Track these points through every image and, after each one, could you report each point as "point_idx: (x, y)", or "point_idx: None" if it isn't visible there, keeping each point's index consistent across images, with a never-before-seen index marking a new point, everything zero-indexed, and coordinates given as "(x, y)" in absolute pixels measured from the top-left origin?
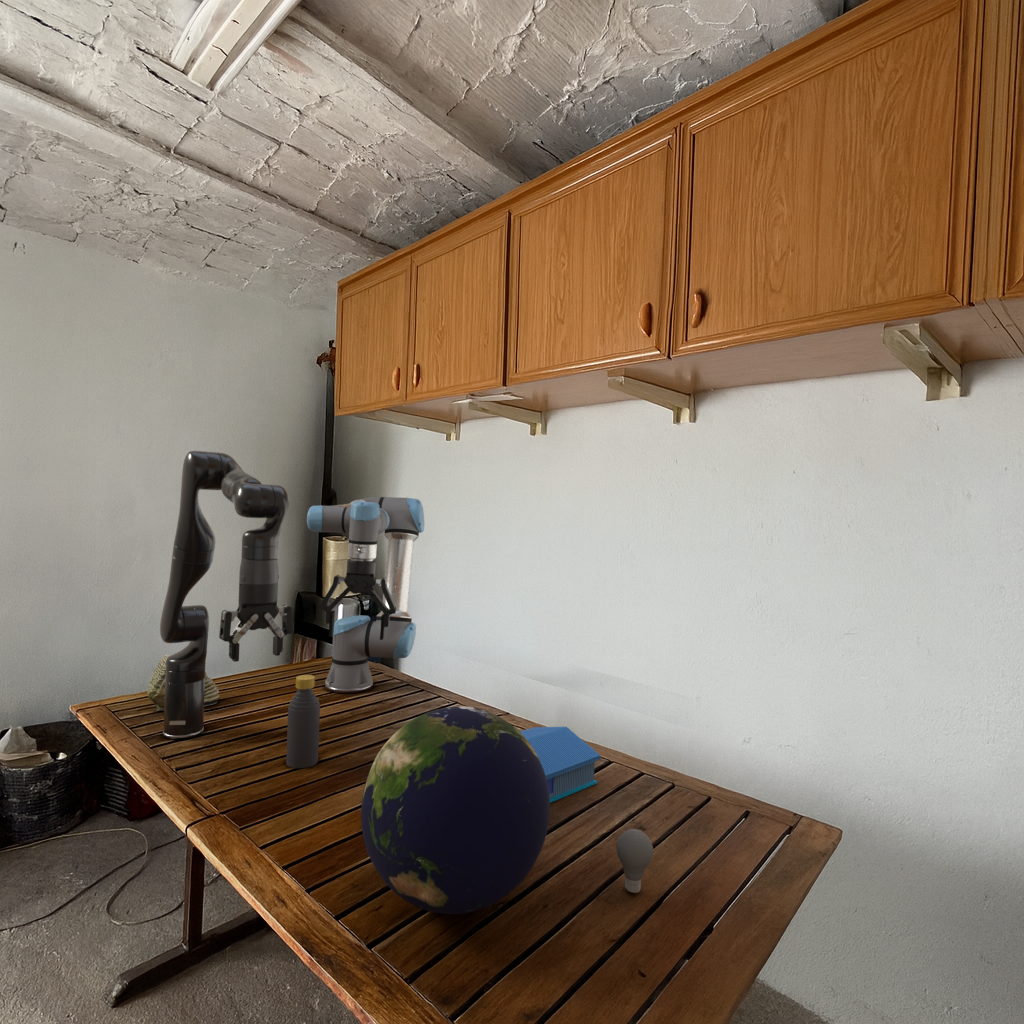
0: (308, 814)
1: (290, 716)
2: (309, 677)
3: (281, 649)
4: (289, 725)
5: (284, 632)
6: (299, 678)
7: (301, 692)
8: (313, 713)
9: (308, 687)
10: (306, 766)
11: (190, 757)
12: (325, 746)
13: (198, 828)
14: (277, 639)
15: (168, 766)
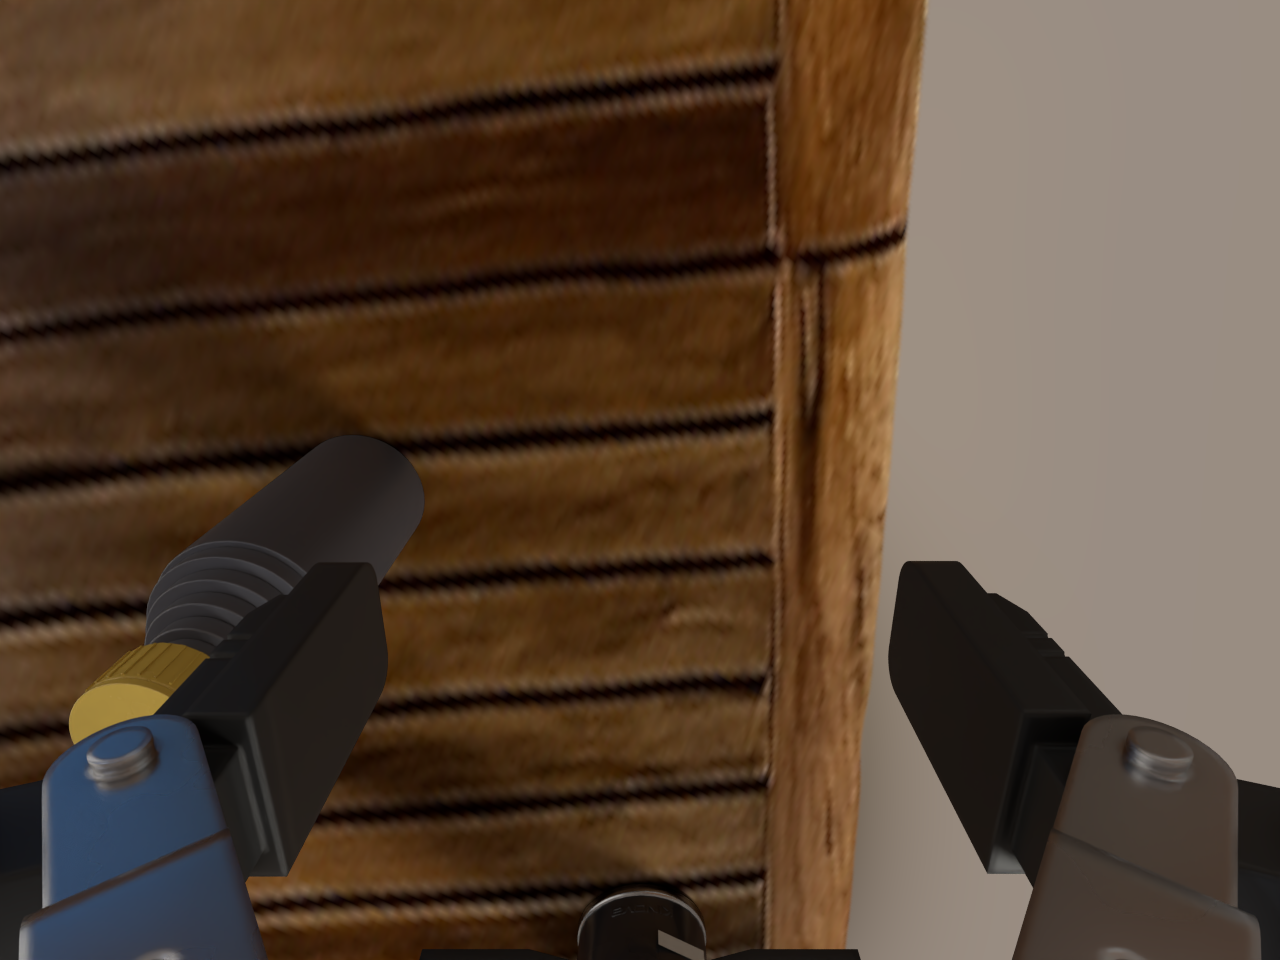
0: (507, 6)
1: None
2: (109, 720)
3: (262, 617)
4: None
5: (12, 832)
6: None
7: None
8: (223, 531)
9: (162, 647)
10: (362, 437)
11: (691, 747)
12: None
13: (887, 188)
14: (255, 706)
15: (774, 719)
